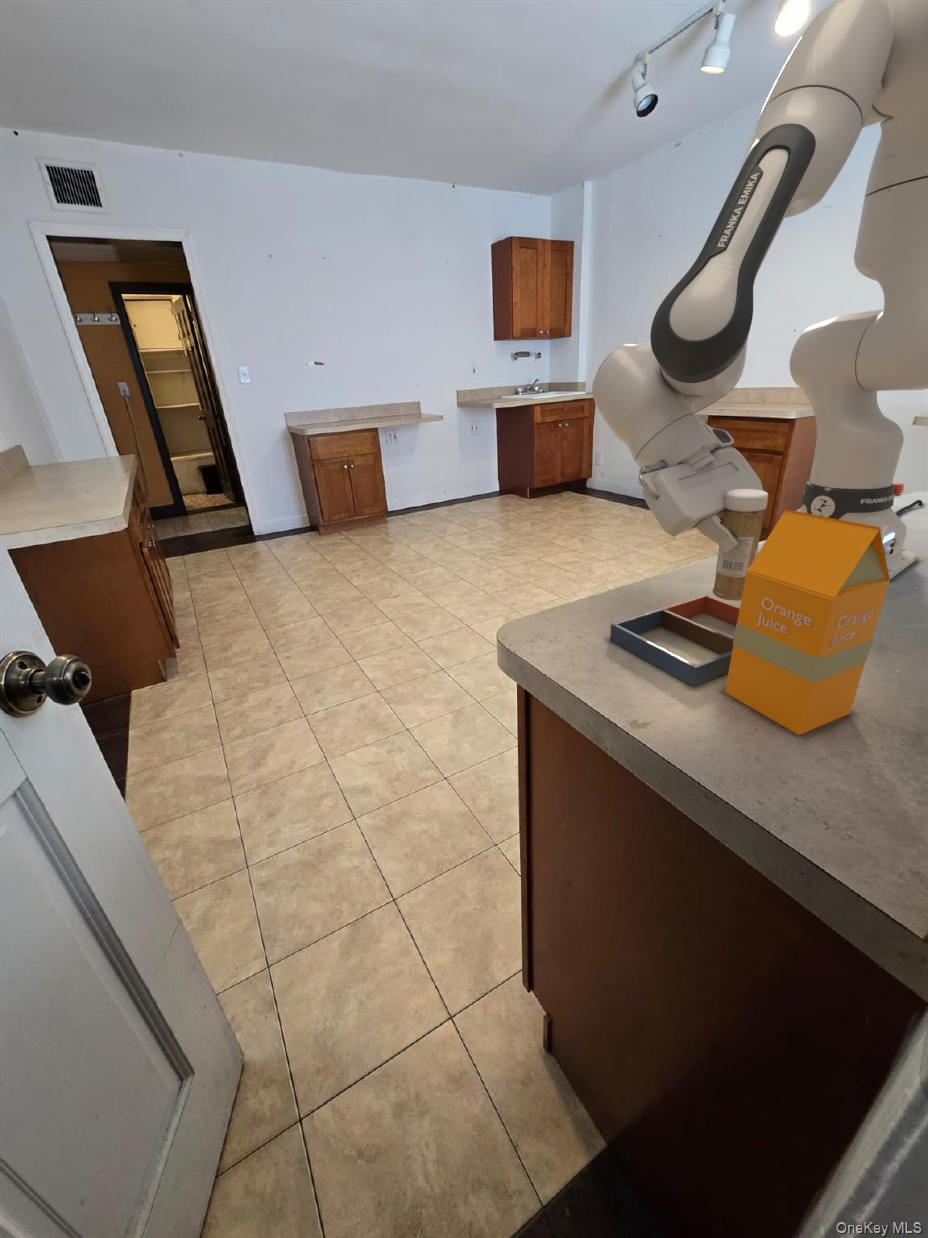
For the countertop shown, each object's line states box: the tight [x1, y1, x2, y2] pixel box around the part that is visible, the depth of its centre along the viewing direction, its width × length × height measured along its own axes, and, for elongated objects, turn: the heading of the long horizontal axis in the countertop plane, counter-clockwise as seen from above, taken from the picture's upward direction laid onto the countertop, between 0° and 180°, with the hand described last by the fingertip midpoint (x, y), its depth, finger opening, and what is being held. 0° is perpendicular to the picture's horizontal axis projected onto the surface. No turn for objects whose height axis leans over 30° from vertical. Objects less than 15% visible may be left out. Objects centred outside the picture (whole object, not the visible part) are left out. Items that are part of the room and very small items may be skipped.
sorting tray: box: [609, 594, 740, 688], centre depth 67 cm, size 18×14×2 cm
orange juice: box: [724, 508, 891, 736], centre depth 50 cm, size 8×9×20 cm
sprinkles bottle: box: [711, 489, 769, 602], centre depth 64 cm, size 5×5×14 cm
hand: (744, 542), depth 64 cm, fingers closed on sprinkles bottle, 4 cm apart
